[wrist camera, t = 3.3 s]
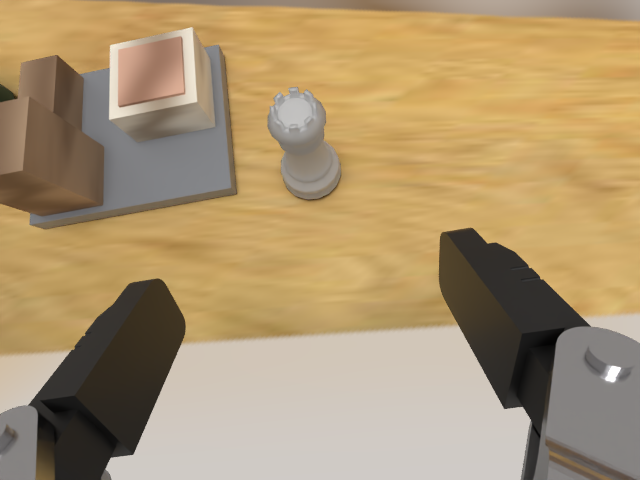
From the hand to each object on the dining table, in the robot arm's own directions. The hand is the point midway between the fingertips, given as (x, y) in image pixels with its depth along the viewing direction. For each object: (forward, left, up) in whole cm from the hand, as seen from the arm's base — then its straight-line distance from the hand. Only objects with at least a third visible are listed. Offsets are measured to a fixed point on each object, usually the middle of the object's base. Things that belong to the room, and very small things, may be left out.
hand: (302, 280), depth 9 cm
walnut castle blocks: (-18, +16, -12) cm, 27 cm away
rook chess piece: (0, +10, -13) cm, 16 cm away
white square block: (-10, +18, -12) cm, 23 cm away
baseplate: (-14, +16, -13) cm, 25 cm away
